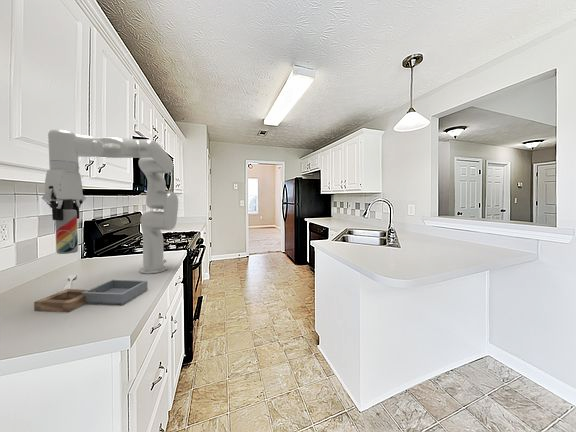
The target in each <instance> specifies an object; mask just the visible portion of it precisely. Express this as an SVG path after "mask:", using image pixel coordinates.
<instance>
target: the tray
mask: <svg viewBox="0 0 576 432" xmlns="http://www.w3.org/2000/svg"><path fill="white" fill-rule="evenodd" d="M86 290H87V291H85V292H82V293H81V294H82V296H86V304H85V305H103V306H105V305H106V306H123V305H125V304H127V303H129V302H130V301H132V300H133V299H135V298H137V297H139V296H140V295H142V294H144V293H145V292H147V291H148V280H135V279H134V280H133V279H111V280H108V281H106V282H104V283H101V284H98V285H97V286H94V287H91V288H89V289H86ZM96 290H98V292H94V291H96Z"/></svg>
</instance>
